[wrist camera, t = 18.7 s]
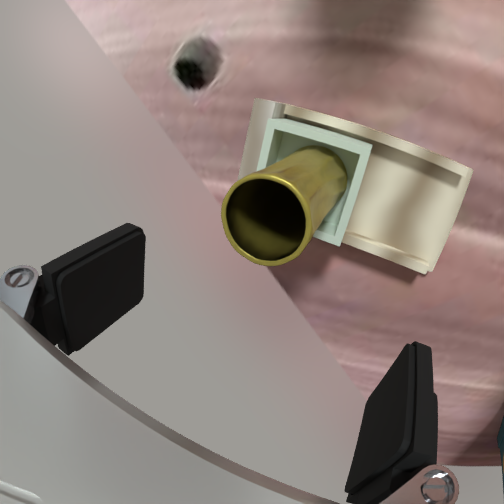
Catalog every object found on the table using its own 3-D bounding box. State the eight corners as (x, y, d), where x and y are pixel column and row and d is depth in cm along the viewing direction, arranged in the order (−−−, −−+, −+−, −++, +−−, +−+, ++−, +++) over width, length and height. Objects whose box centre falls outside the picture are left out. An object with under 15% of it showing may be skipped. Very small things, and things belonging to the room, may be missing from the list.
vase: (302, 218, 31) (245, 286, 19) (273, 162, 30) (194, 195, 18) (358, 193, 28) (340, 252, 16) (328, 133, 27) (285, 143, 15)
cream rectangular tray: (470, 168, 27) (487, 178, 22) (430, 267, 32) (437, 293, 27) (275, 101, 32) (254, 98, 27) (252, 201, 38) (230, 216, 33)
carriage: (372, 144, 29) (371, 149, 24) (346, 226, 33) (339, 246, 28) (287, 118, 31) (268, 118, 26) (268, 198, 35) (247, 213, 30)
